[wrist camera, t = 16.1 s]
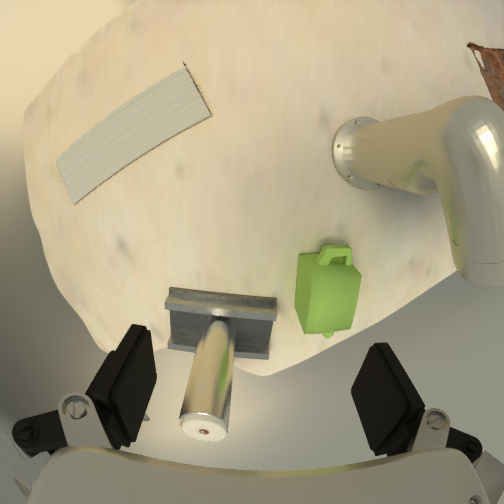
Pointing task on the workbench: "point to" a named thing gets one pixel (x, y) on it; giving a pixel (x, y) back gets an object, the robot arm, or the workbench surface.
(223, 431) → the tan metal cylinder
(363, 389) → the robot arm
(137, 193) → the workbench surface
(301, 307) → the lime handled box
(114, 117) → the baseboard
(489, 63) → the brown flat irregular piece
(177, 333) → the floor track
